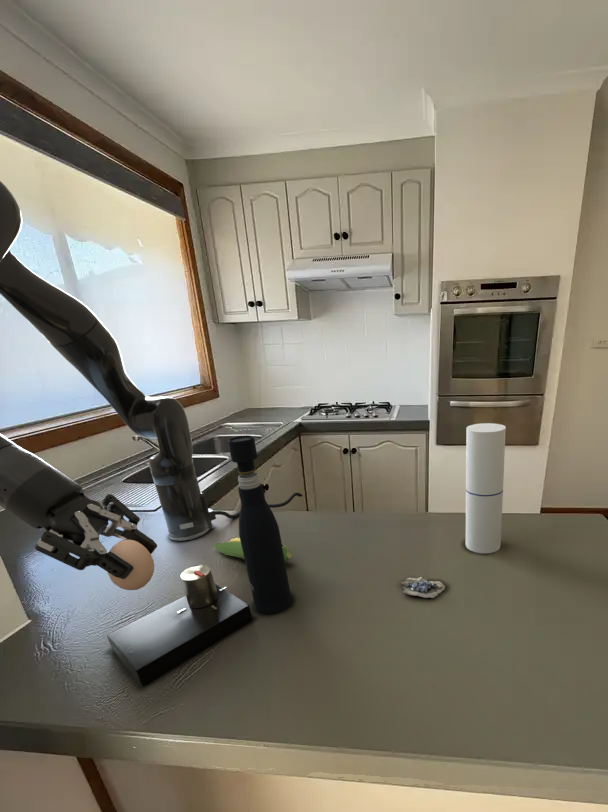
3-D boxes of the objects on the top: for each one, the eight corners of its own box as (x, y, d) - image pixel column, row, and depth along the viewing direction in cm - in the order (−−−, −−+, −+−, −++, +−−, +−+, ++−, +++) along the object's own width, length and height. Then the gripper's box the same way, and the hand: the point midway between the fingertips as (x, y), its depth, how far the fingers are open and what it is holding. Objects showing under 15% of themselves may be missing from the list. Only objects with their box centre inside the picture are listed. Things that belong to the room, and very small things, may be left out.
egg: (119, 582, 63) (103, 536, 60) (161, 572, 65) (147, 528, 62) (111, 603, 58) (94, 555, 55) (157, 592, 60) (142, 545, 57)
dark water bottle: (298, 594, 77) (270, 433, 65) (279, 616, 71) (245, 444, 60) (267, 590, 79) (235, 433, 68) (247, 611, 73) (209, 443, 62)
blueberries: (398, 580, 79) (397, 571, 78) (440, 575, 79) (440, 567, 78) (404, 602, 72) (403, 593, 72) (449, 596, 73) (449, 587, 72)
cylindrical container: (462, 551, 87) (463, 431, 77) (468, 535, 93) (470, 422, 83) (498, 555, 84) (503, 432, 75) (502, 539, 90) (507, 423, 81)
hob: (217, 593, 79) (213, 578, 78) (255, 618, 71) (251, 602, 70) (111, 648, 67) (105, 633, 66) (142, 687, 59) (135, 669, 58)
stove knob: (183, 602, 72) (174, 573, 70) (208, 588, 76) (200, 560, 73) (197, 611, 69) (188, 582, 67) (223, 597, 73) (215, 568, 70)
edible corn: (283, 573, 84) (279, 553, 82) (210, 557, 93) (205, 538, 91) (298, 560, 88) (295, 541, 87) (226, 546, 97) (222, 528, 95)
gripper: (-7, 486, 48) (125, 572, 52) (79, 451, 61) (179, 521, 65) (-31, 530, 50) (97, 609, 54) (57, 487, 63) (155, 553, 67)
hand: (141, 561), depth 60 cm, fingers closed on egg, 5 cm apart
